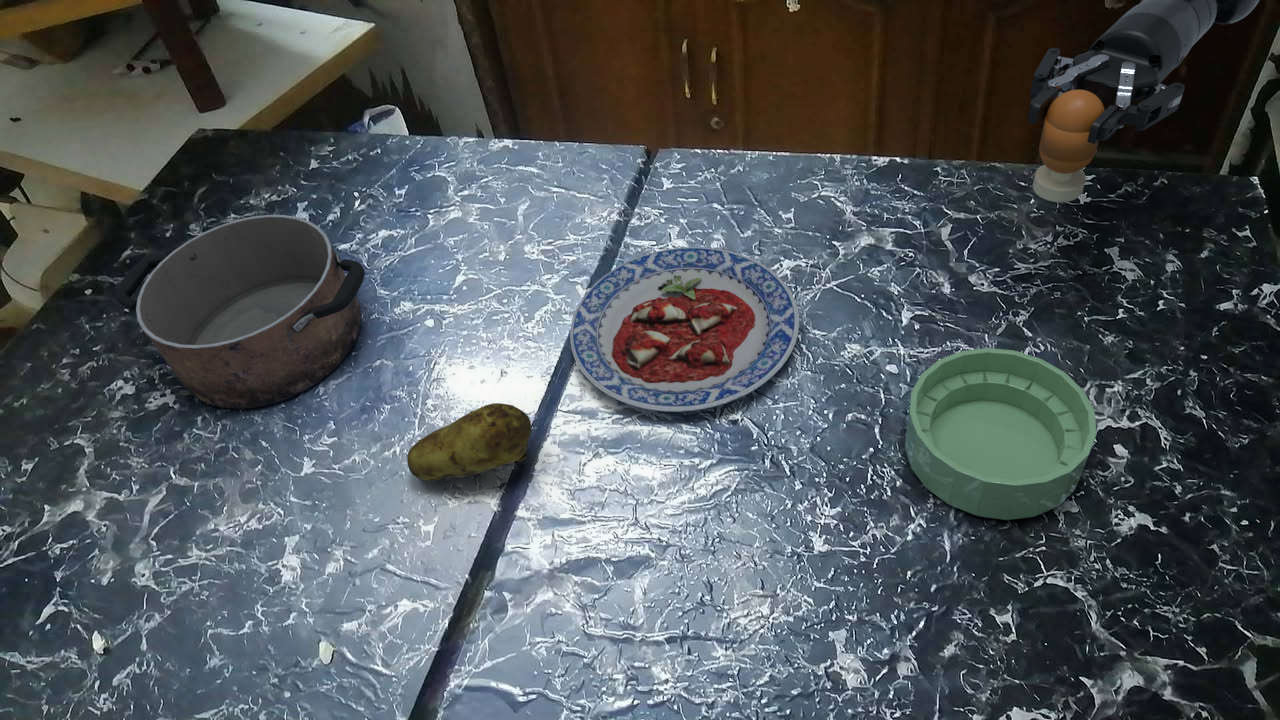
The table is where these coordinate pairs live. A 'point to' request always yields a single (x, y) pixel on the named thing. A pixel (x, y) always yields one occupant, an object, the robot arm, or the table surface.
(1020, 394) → the green round shallow dish
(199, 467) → the table surface
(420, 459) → the potato
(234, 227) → the cooking pot
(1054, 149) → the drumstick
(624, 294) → the ceramic plate
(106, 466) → the table surface
